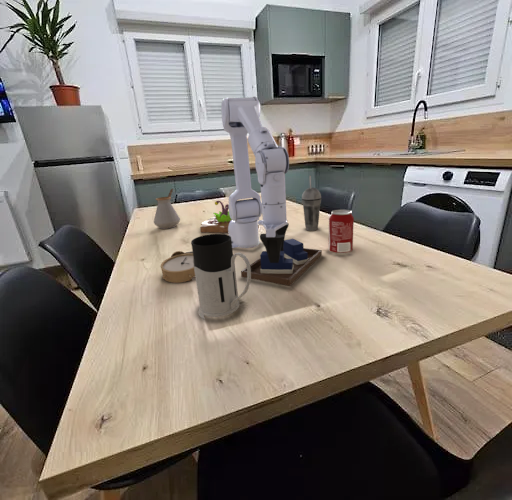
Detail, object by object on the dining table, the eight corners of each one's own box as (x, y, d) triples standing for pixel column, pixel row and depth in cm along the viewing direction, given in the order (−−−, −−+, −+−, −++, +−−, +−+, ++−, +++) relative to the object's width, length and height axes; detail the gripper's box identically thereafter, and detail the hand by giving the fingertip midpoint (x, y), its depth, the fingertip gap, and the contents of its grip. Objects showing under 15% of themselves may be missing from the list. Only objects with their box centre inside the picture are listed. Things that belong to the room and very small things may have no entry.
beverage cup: (324, 227, 113) (324, 173, 107) (317, 232, 108) (317, 176, 101) (306, 225, 117) (305, 174, 111) (298, 230, 112) (297, 176, 105)
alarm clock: (153, 273, 74) (172, 244, 87) (158, 289, 76) (175, 259, 89) (197, 272, 72) (209, 243, 85) (200, 288, 75) (212, 257, 88)
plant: (209, 221, 136) (206, 197, 132) (251, 220, 133) (249, 195, 129) (195, 234, 117) (191, 206, 114) (243, 232, 114) (240, 203, 111)
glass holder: (222, 295, 66) (214, 230, 62) (270, 315, 57) (265, 241, 52) (189, 311, 61) (178, 241, 56) (236, 337, 51) (227, 256, 46)
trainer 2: (282, 256, 85) (282, 240, 83) (293, 253, 86) (292, 238, 84) (297, 265, 78) (297, 247, 76) (308, 262, 79) (308, 245, 77)
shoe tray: (241, 279, 74) (240, 271, 73) (280, 252, 90) (279, 245, 90) (289, 289, 67) (289, 279, 66) (321, 257, 84) (321, 250, 83)
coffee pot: (177, 229, 127) (171, 194, 122) (151, 230, 128) (144, 196, 123) (188, 217, 147) (184, 187, 143) (166, 219, 148) (160, 189, 143)
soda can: (353, 255, 83) (355, 214, 79) (328, 255, 85) (329, 214, 81) (351, 248, 89) (352, 208, 86) (328, 248, 91) (328, 209, 87)
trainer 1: (260, 273, 74) (259, 255, 73) (262, 267, 78) (261, 250, 76) (292, 273, 73) (291, 255, 71) (293, 268, 76) (293, 250, 74)
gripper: (262, 197, 77) (265, 247, 81) (250, 209, 64) (255, 267, 68) (289, 196, 76) (291, 247, 80) (283, 208, 62) (285, 268, 67)
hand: (276, 256), depth 74 cm, fingers open, 7 cm apart
